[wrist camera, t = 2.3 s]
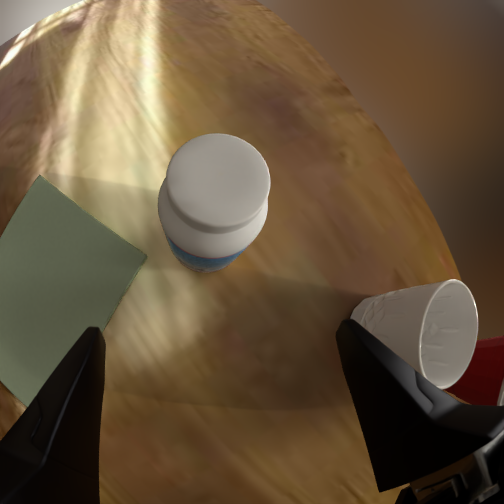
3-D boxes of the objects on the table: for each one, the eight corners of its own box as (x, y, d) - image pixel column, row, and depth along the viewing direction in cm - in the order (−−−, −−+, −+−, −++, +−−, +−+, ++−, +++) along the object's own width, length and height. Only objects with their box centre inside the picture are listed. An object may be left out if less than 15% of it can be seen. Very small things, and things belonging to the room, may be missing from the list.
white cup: (328, 312, 24) (406, 314, 14) (388, 276, 26) (465, 262, 16) (355, 383, 23) (429, 411, 13) (409, 342, 25) (483, 348, 15)
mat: (56, 428, 16) (54, 430, 16) (-34, 334, 15) (-37, 334, 14) (147, 256, 21) (146, 255, 21) (41, 176, 20) (39, 174, 19)
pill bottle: (257, 242, 23) (313, 192, 12) (199, 288, 22) (207, 275, 11) (212, 187, 23) (232, 102, 12) (154, 229, 22) (124, 165, 11)
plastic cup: (421, 422, 24) (494, 447, 12) (420, 344, 25) (508, 350, 14) (468, 386, 26) (532, 395, 15) (467, 316, 28) (538, 312, 16)
